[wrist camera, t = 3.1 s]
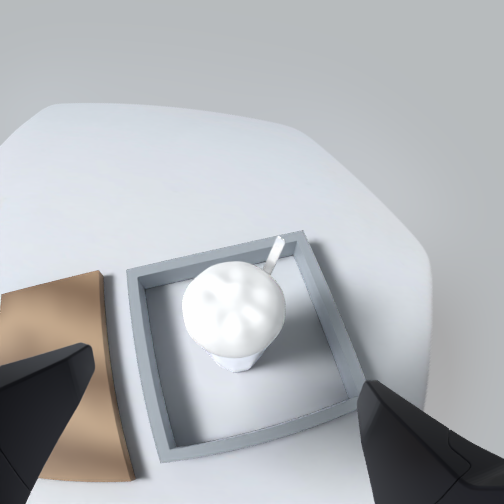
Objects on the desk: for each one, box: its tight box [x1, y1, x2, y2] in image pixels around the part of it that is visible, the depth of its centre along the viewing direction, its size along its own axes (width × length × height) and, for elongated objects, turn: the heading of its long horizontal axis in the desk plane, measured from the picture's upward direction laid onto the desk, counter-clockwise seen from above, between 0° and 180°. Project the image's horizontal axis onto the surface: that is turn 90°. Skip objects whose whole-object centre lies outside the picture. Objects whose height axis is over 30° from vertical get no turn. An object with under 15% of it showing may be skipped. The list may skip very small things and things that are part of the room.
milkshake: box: [182, 236, 286, 373], centre depth 16 cm, size 4×5×10 cm
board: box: [0, 270, 136, 482], centre depth 17 cm, size 16×11×1 cm
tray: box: [126, 230, 366, 463], centre depth 19 cm, size 14×14×2 cm
